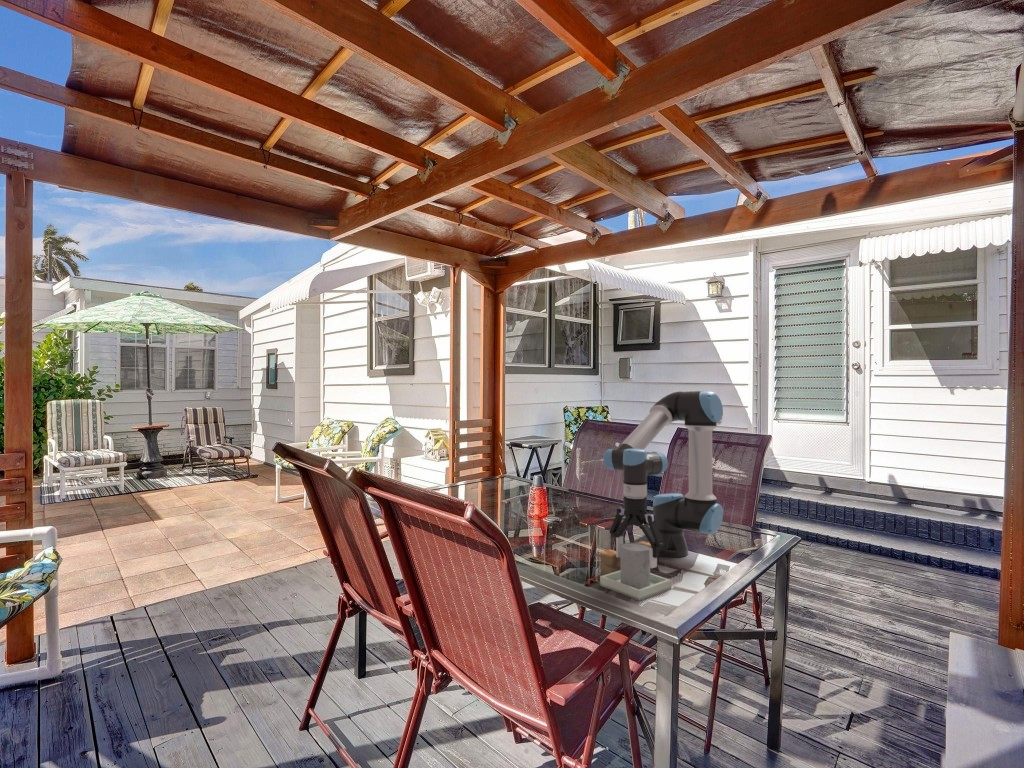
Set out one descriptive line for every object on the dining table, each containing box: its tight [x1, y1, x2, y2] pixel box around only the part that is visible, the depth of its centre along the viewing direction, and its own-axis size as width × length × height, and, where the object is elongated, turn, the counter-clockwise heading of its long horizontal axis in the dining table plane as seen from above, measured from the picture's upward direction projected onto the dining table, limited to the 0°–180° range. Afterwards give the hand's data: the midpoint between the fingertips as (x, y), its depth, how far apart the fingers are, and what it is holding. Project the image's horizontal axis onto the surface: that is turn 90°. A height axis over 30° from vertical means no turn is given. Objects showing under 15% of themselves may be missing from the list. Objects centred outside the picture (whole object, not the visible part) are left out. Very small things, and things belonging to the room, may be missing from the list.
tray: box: [599, 570, 672, 602], centre depth 162 cm, size 16×16×3 cm
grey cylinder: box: [620, 542, 651, 589], centre depth 163 cm, size 10×10×12 cm
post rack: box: [599, 540, 652, 576], centre depth 180 cm, size 23×5×8 cm, turn 127°
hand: (636, 561), depth 163 cm, fingers open, 13 cm apart
